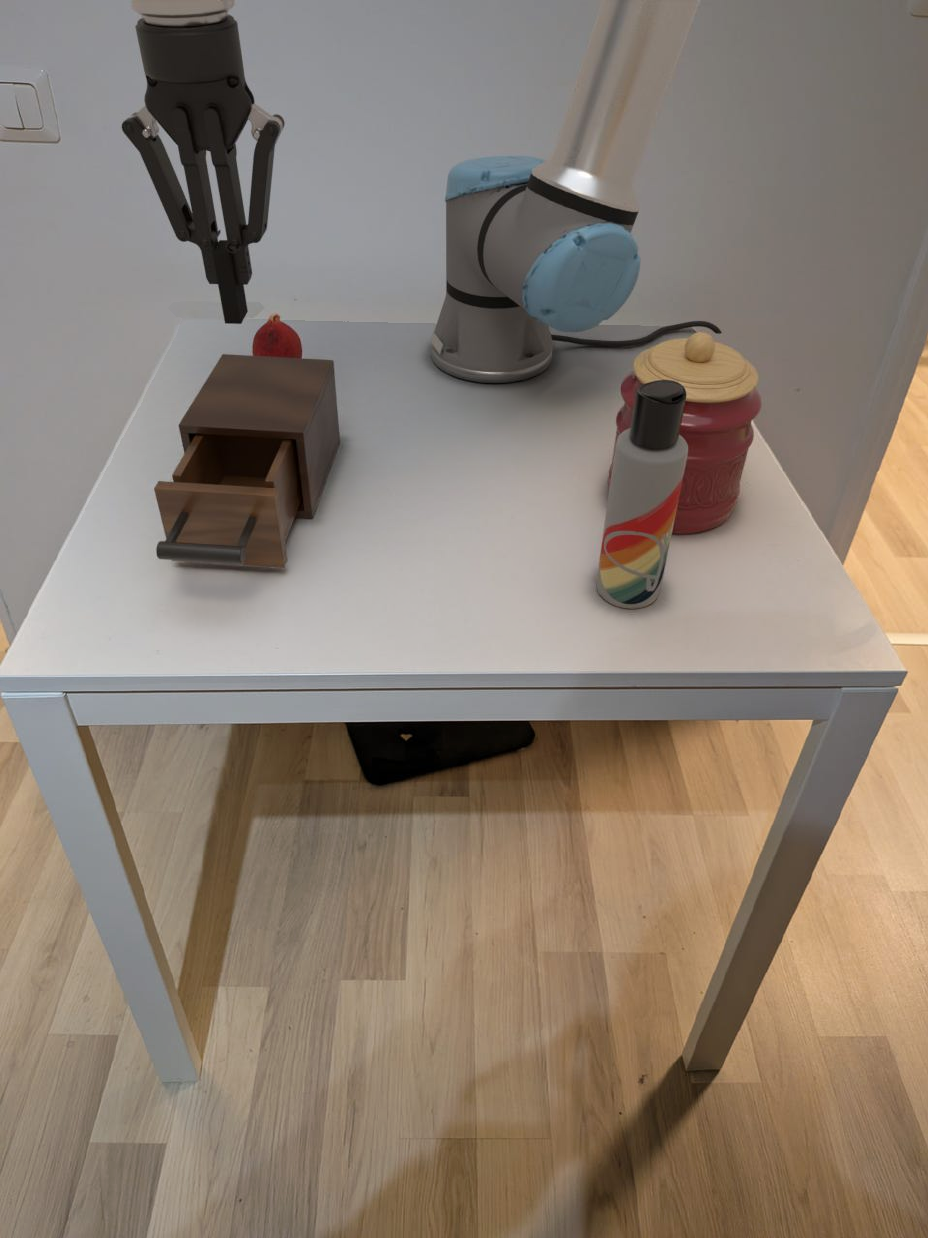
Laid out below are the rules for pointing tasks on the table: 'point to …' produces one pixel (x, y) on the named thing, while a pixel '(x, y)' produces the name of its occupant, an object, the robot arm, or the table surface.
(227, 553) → the drawer
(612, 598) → the lotion bottle
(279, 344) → the red pomegranate
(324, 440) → the cabinet
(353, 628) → the table surface
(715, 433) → the kitchen canister
